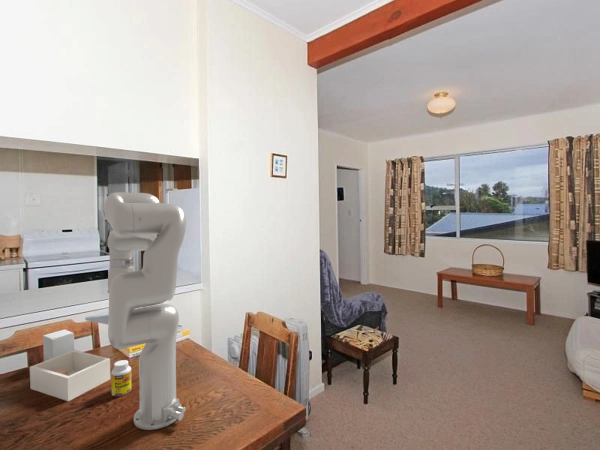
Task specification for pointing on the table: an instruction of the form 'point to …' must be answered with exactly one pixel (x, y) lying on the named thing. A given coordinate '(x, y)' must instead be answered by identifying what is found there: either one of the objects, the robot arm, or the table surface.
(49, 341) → the supplement box
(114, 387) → the supplement bottle
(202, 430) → the table surface
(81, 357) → the storage box
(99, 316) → the lid
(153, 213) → the robot arm
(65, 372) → the terracotta block
